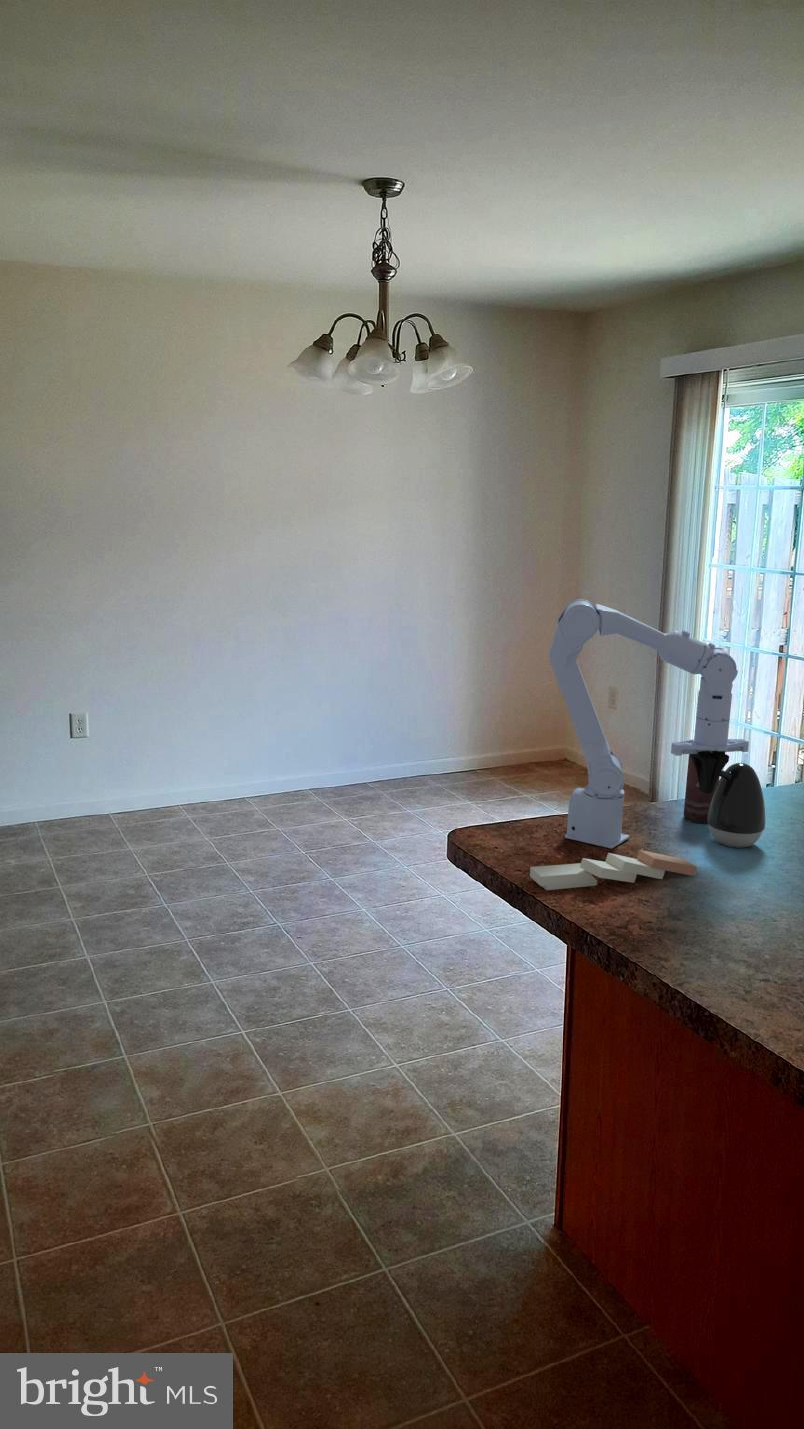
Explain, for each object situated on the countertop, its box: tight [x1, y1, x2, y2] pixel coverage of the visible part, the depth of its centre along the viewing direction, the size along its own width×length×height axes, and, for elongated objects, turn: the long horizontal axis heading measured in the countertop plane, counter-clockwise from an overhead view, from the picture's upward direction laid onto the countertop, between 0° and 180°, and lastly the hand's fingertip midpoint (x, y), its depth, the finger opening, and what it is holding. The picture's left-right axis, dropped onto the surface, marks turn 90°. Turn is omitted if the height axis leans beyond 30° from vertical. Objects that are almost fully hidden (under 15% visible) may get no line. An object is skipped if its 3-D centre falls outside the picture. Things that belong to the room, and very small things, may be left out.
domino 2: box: [541, 876, 598, 891], centre depth 171 cm, size 2×4×9 cm
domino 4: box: [604, 852, 666, 880], centre depth 174 cm, size 2×4×9 cm
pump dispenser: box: [707, 762, 766, 849], centre depth 191 cm, size 10×10×15 cm
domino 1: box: [529, 862, 594, 887], centre depth 171 cm, size 2×4×9 cm
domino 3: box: [580, 857, 638, 884], centre depth 171 cm, size 2×4×9 cm
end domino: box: [636, 849, 698, 877], centre depth 176 cm, size 2×4×9 cm
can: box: [683, 754, 721, 825], centre depth 205 cm, size 6×6×14 cm
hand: (705, 791), depth 188 cm, fingers closed
